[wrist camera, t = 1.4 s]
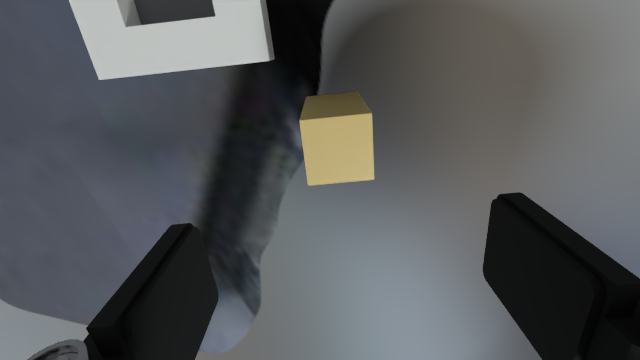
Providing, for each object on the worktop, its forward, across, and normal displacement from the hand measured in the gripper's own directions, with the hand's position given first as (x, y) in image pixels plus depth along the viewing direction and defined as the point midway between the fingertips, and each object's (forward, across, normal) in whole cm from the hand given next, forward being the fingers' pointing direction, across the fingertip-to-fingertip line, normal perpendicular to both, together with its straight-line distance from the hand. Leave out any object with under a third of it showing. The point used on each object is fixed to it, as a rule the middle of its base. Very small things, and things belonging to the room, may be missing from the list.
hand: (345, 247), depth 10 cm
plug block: (+17, 0, 0) cm, 17 cm away
